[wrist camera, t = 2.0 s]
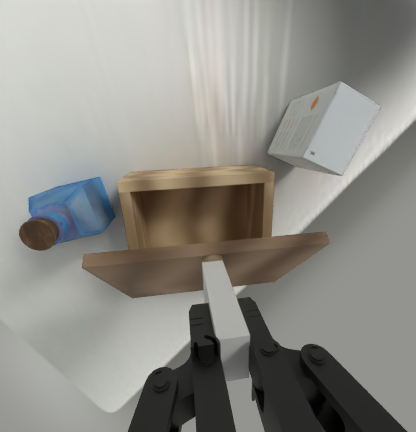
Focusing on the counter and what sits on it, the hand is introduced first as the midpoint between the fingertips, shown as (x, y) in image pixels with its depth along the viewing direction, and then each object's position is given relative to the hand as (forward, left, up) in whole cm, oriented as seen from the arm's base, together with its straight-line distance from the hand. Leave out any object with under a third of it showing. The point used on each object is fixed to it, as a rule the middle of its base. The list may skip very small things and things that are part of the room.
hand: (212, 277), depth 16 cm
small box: (-15, -10, -20) cm, 27 cm away
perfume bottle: (+16, -2, -20) cm, 25 cm away
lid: (0, +3, -6) cm, 7 cm away
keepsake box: (0, +1, -19) cm, 19 cm away
